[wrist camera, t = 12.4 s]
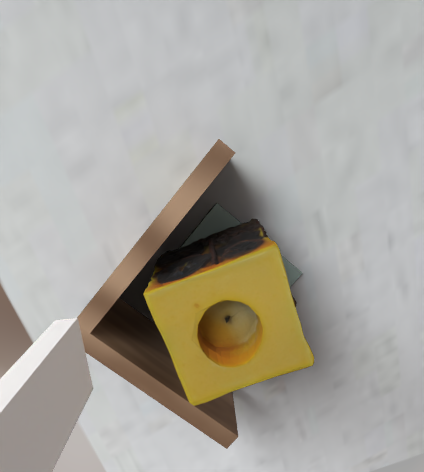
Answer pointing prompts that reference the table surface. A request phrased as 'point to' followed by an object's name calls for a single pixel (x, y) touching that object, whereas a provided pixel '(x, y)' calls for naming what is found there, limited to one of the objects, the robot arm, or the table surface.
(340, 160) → the table surface
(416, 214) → the table surface
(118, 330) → the corner walls
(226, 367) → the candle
